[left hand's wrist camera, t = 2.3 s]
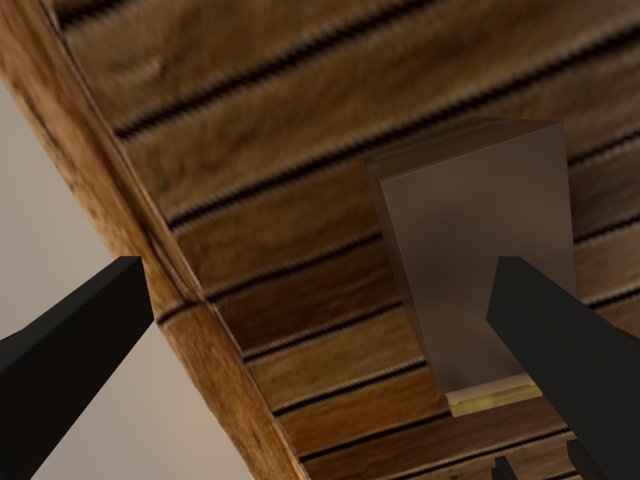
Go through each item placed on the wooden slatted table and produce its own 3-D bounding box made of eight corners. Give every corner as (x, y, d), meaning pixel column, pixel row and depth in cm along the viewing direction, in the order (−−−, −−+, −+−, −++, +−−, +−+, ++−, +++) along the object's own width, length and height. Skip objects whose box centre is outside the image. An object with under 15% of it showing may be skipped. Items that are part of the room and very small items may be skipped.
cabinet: (501, 281, 34) (582, 358, 24) (404, 309, 36) (440, 395, 25) (473, 116, 29) (564, 121, 18) (358, 156, 30) (380, 182, 19)
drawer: (510, 350, 36) (573, 429, 28) (428, 371, 37) (463, 454, 29) (477, 157, 29) (548, 179, 20) (376, 191, 30) (401, 226, 21)
